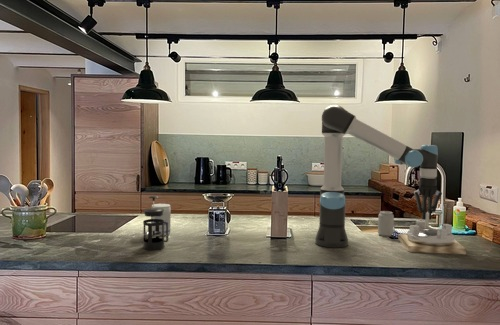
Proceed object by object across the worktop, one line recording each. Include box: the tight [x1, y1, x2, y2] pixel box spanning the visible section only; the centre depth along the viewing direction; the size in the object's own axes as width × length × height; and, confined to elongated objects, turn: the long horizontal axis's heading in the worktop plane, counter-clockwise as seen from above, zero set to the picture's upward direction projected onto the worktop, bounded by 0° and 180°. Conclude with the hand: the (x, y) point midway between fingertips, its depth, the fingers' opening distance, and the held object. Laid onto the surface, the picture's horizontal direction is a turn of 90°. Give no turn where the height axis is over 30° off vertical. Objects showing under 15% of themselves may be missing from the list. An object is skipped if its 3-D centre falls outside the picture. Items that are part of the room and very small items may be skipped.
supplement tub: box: [150, 203, 172, 236], centre depth 214 cm, size 10×10×15 cm
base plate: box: [397, 233, 467, 255], centre depth 198 cm, size 24×22×3 cm
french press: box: [142, 195, 169, 251], centre depth 189 cm, size 12×9×23 cm
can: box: [377, 210, 395, 237], centre depth 218 cm, size 8×8×12 cm
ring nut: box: [406, 220, 455, 246], centre depth 198 cm, size 20×20×7 cm
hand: (426, 226), depth 206 cm, fingers closed
